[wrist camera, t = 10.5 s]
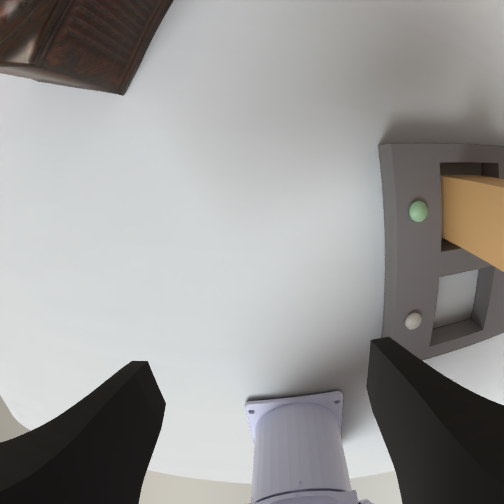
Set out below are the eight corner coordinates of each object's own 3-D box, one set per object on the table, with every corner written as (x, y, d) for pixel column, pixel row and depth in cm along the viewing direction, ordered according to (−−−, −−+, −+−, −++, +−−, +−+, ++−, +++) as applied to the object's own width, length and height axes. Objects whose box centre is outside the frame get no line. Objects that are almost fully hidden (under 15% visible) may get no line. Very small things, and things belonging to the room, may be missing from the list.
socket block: (493, 321, 19) (507, 333, 17) (380, 353, 20) (389, 371, 18) (506, 147, 15) (525, 148, 13) (377, 144, 16) (393, 143, 14)
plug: (475, 228, 17) (558, 268, 9) (435, 233, 18) (519, 281, 9) (475, 174, 16) (565, 193, 8) (433, 175, 16) (528, 193, 8)
